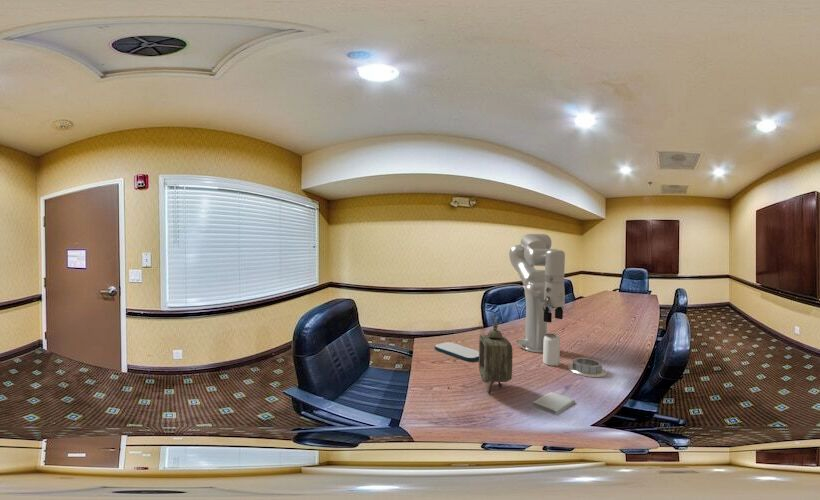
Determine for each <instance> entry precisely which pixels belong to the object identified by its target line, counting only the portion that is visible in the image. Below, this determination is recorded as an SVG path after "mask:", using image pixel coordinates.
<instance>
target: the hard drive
mask: <svg viewBox="0 0 820 500" xmlns="http://www.w3.org/2000/svg"><path fill="white" fill-rule="evenodd" d="M575 403H576V401H575V399H574V398H571V397H568V396H565V395H563V394H559V393H556V392H554V391H550V392H549V393H547V394H545V395H543V396H541V397H539V398H538V399H536V400H534V401H532V402H531V406H533V407H536V408H538V409H541V410H544V411H546V412H548V413H551V414H554V415H558V414H559V413H561V412H563V411H564V410H566V409H567V408H568V407H571V406H572V405H574V404H575Z"/></svg>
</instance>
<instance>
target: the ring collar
mask: <svg viewBox="0 0 820 500" xmlns="http://www.w3.org/2000/svg"><path fill="white" fill-rule="evenodd" d="M567 369H568V370H569V372H571V373H573V374H575V375H579V376H583V377H586V378H594V379H596V378H597V379H599V378H605V377H606V376H607V375H608V371H607V370H606V369H604V368H603V363H602V362H601V361H599V360H597V359H594V358H593V359H592V358H588V357H576V358H573V360H572V363H570V364H569V365H568V366H567Z"/></svg>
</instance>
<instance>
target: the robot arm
mask: <svg viewBox="0 0 820 500" xmlns="http://www.w3.org/2000/svg"><path fill="white" fill-rule="evenodd" d="M552 243H553V242H552V238H551V237H550V236H549V235H548V234H545V233H527V234H525V235H523V236H522V237H521V239H520V244H515V245H512V246H511V247H510V249H509V251H508V252H509V253H508V255H509V261H510V264H511V265H512V267H513V269H514V270H515V271H516V272H517V274H518V276H519V278H520V280H521V282H522V284H523V286H524V298H525V334H524V335H525V337H524V336H523V338H521V339H519V338H518V339H516V338H515V339H514V344H518V345H519V346H520V345H521V348H522V349H523V350H524V351H527V352H532V353H541V354H543V342H544V337H545V334H548V333H547V331H548V330H547V329H548V323H552V321H553V320H552V315H553V314H552V310H553V309H554V318H555V319H559V320H562V319H563V317H564V306H566V305H565V304H566V292H565V291H566V290H565V288H566V287H565V263H566V253H565V251H563V250H561V249H557V248H551V247H552ZM535 267H544V269H537V268H535Z"/></svg>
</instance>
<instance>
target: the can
mask: <svg viewBox="0 0 820 500" xmlns="http://www.w3.org/2000/svg"><path fill="white" fill-rule="evenodd" d="M560 352H561V339H560V335H558V334H554V333H547V334H545V337H544V342H543V353H542V363H543V364H544V365H546V366H550V367H558V366H559V365H560V354H561V353H560Z"/></svg>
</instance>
